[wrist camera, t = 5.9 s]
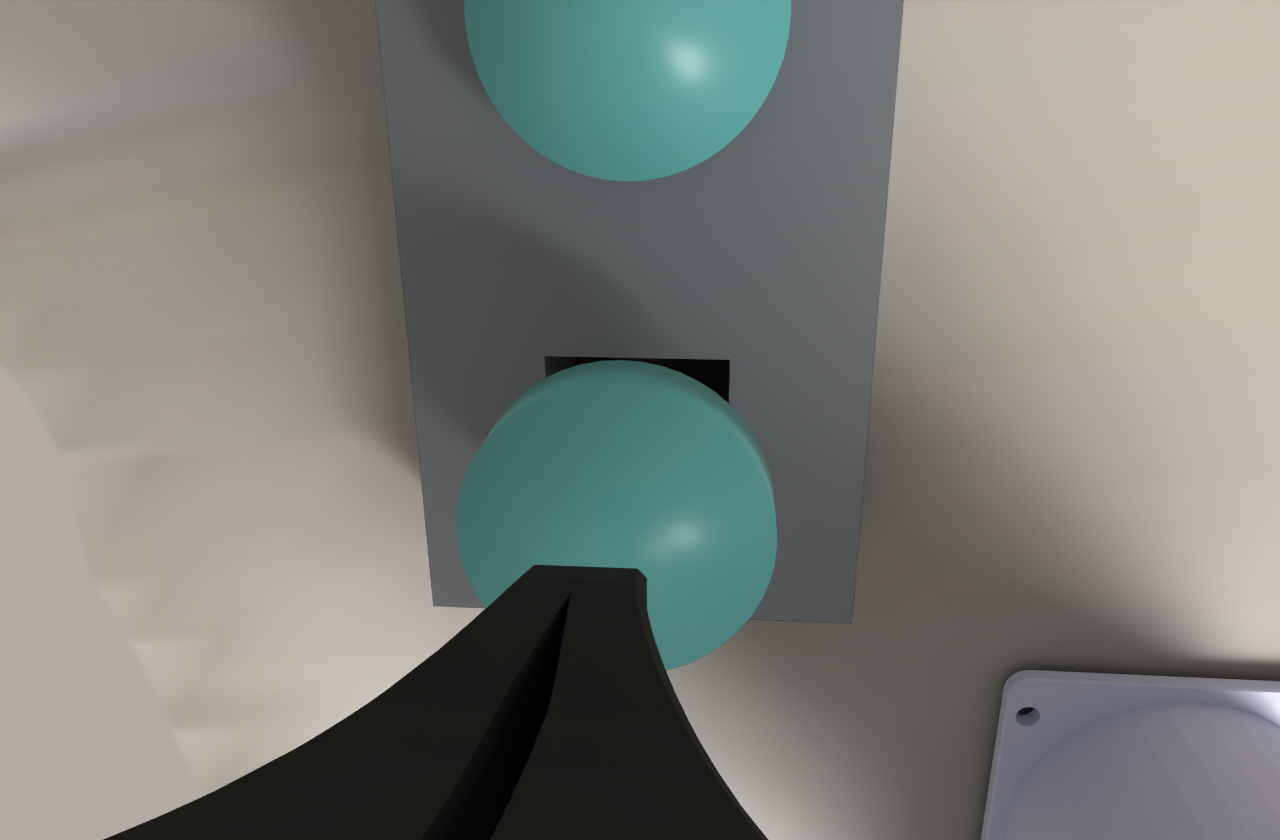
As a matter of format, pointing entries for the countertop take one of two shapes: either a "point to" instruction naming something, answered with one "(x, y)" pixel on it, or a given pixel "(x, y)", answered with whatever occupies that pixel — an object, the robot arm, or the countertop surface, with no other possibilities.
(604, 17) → the knob
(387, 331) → the countertop surface
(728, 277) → the panel box
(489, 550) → the knob
